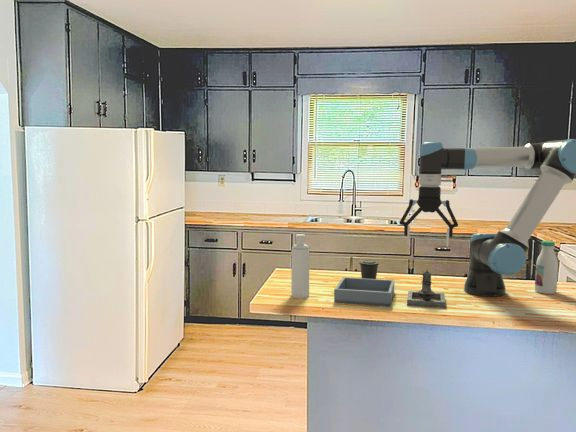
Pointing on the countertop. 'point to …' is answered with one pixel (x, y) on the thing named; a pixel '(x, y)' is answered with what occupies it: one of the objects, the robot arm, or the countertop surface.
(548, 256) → the milk bottle
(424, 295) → the dark grey tall piece
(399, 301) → the countertop surface
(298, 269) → the white plastic bottle
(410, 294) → the collar
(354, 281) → the bin
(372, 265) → the coffee cup
